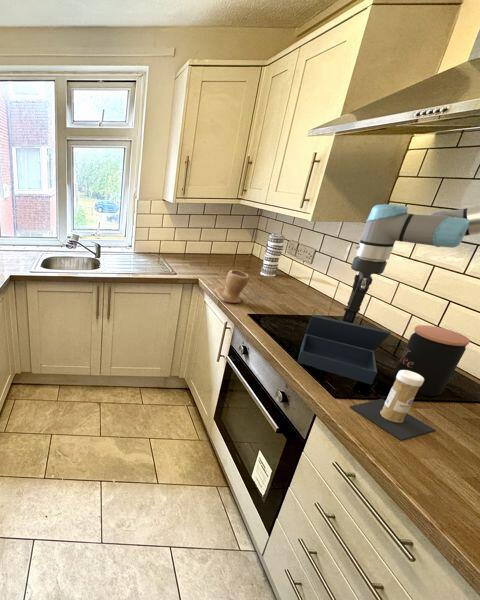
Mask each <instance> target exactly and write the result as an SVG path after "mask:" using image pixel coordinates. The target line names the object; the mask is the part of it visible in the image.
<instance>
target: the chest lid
mask: <svg viewBox="0 0 480 600" xmlns="http://www.w3.org/2000/svg"><path fill="white" fill-rule="evenodd" d="M391 333H392V331H389V330H385V329H380V328H376V327H371V326H366V325H362V324H357V323H354V322H353V323H349V322H344V321H342V320H340V319H334V318H330V317H325V316H321V315H317V314H311V317H310V319H309V322H308V325H307V327H306V330H305V333H304V335H305V334H307V335H311V336H315V337H319V338H323V339H327V340H331V341H335V342H339V343H343V344H347V345H351V346H355V347H359V348H363V349H367V350H371V351H374V352H375V351H376V349H378V347H379V346H380V345H381V344H383V342H384V341H385V340H387V338H388V337H389V336H390V335H391Z"/></svg>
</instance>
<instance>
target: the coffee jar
mask: <svg viewBox="0 0 480 600" xmlns="http://www.w3.org/2000/svg"><path fill="white" fill-rule="evenodd" d="M413 330H414V332H413V333H412V334H411V335H410V337H409V339H408V342H407V343H406V345H405V348H404V350H403V352H402V354H401V357H400V358H399V361H398V363H397V365H396V368H395V369H394V372H393V374H392V377H393V380H394V382H395V381H396V376H397V374H398V372H399V371H400V370H408V371H412V372H415V373H417V374H419V375H421V376H422V377H423V378H424V382H423V384H422V385H421V386H420V387H419V389H418V391H417V393H416V395H421V396H425V397H435V396H438V395H441V394H442V393H443V392H444V390H445V388H446V387H447V385H448V383H449V381H450V379H451V377H452V375H453V374H454V372H455V370H456V369H457V366H458V365H459V363H460V361H461V359H462V357H463V355H464V354H465V352H466V349H467V348H466V346H468V345H469V344H470V342H471V340H470V338H468V337H467V336H466V335H463V334H462V333H460V332H457V331H454V330H451V329H447V328H444V327H439V326H434V325H427V324H425V325H424V324H420V325H416V326H415V327H414V329H413Z"/></svg>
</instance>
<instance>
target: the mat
mask: <svg viewBox="0 0 480 600" xmlns="http://www.w3.org/2000/svg"><path fill="white" fill-rule="evenodd" d="M385 401H386V399H384V398H379V399H374V400H370V401H367V402H362V403H358V404H353V405H349V408H350V409H351V410H353V411H354V412H356V413H357V414H358V415H360V416H361V417H363V418H365V419H367V420H368V421H369V422H371V423H372V424H374V425H376V426H377V427H379V428H380V429H382V430H383V431H384V432H385V433H388V434H389V435H391V436H392V437H394V438H395V439H397V440H398V441H399V442H402V441H406V440H409V439H412V438H416V437H419V436H423V435H426V434H430V433H434V432H436V429H435V428H434V427H432V426H430V425H428V424H427V423H425V422H423V421H422V420H420V419H418V418H416V417H415V416H413V415H411V414H409V413H408V412H407V413H406V415H405V417H404V419H403V422H402V423H395V422H391V421H389V420H387V419H385V418H384V417H382V415H381V414H380V411H381V410H382V409H383V407H384V404H385Z"/></svg>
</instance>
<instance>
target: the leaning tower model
mask: <svg viewBox="0 0 480 600" xmlns="http://www.w3.org/2000/svg"><path fill="white" fill-rule="evenodd" d="M268 236H269V238H268V241H267V243H266V244H265V245H266V247H265V251H264V252H265V253H264V260H263V262H262V265H261V266H262V267H261V269H260V275H262V276H265V277H276V274H277V272H278V268H279V267H278V266H279V260H280V258H281V256H282V251H283V250H284V249H283V248H284V239H285V238H286V236H285V237H284V235H283V234H281V233H272V234H270V235H268Z"/></svg>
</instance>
